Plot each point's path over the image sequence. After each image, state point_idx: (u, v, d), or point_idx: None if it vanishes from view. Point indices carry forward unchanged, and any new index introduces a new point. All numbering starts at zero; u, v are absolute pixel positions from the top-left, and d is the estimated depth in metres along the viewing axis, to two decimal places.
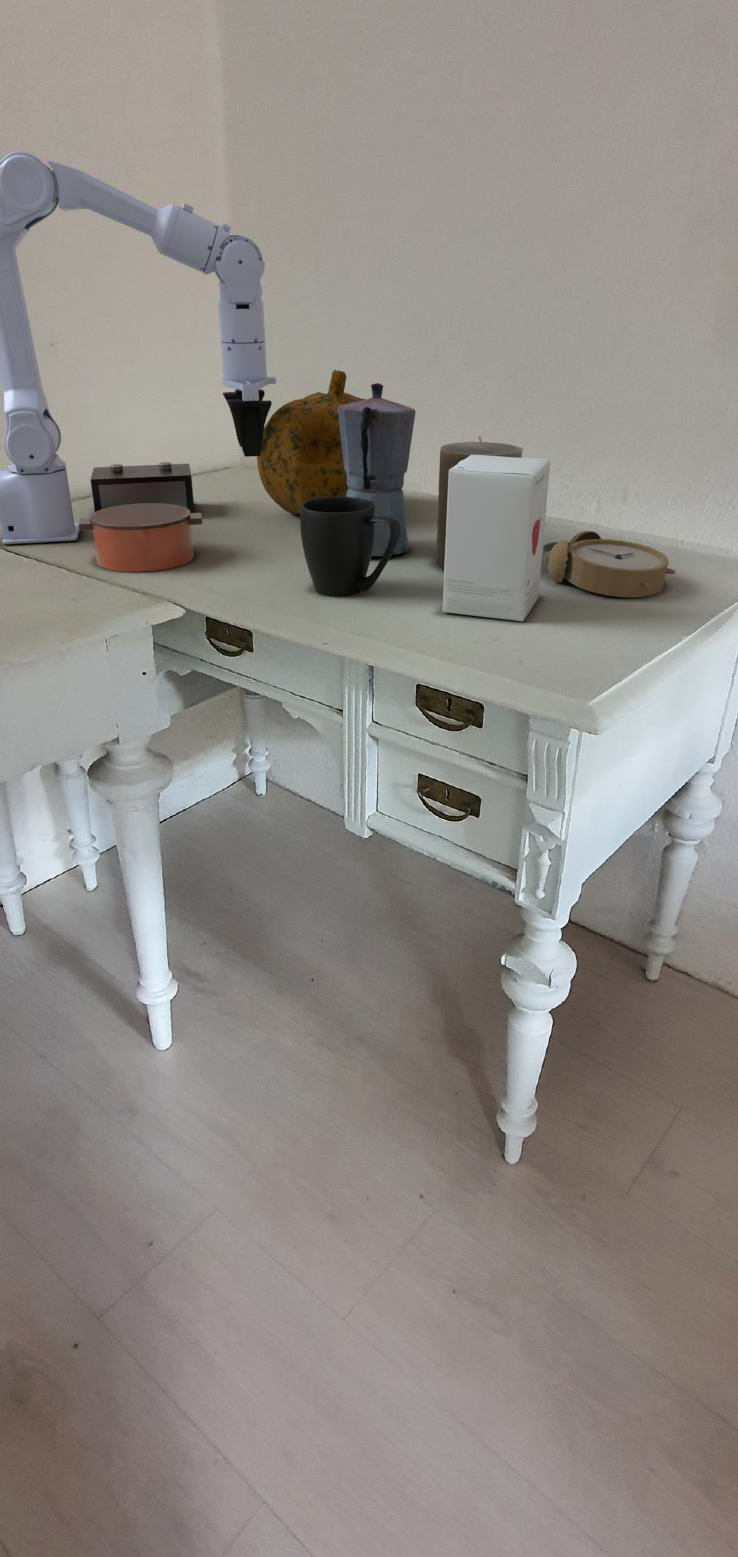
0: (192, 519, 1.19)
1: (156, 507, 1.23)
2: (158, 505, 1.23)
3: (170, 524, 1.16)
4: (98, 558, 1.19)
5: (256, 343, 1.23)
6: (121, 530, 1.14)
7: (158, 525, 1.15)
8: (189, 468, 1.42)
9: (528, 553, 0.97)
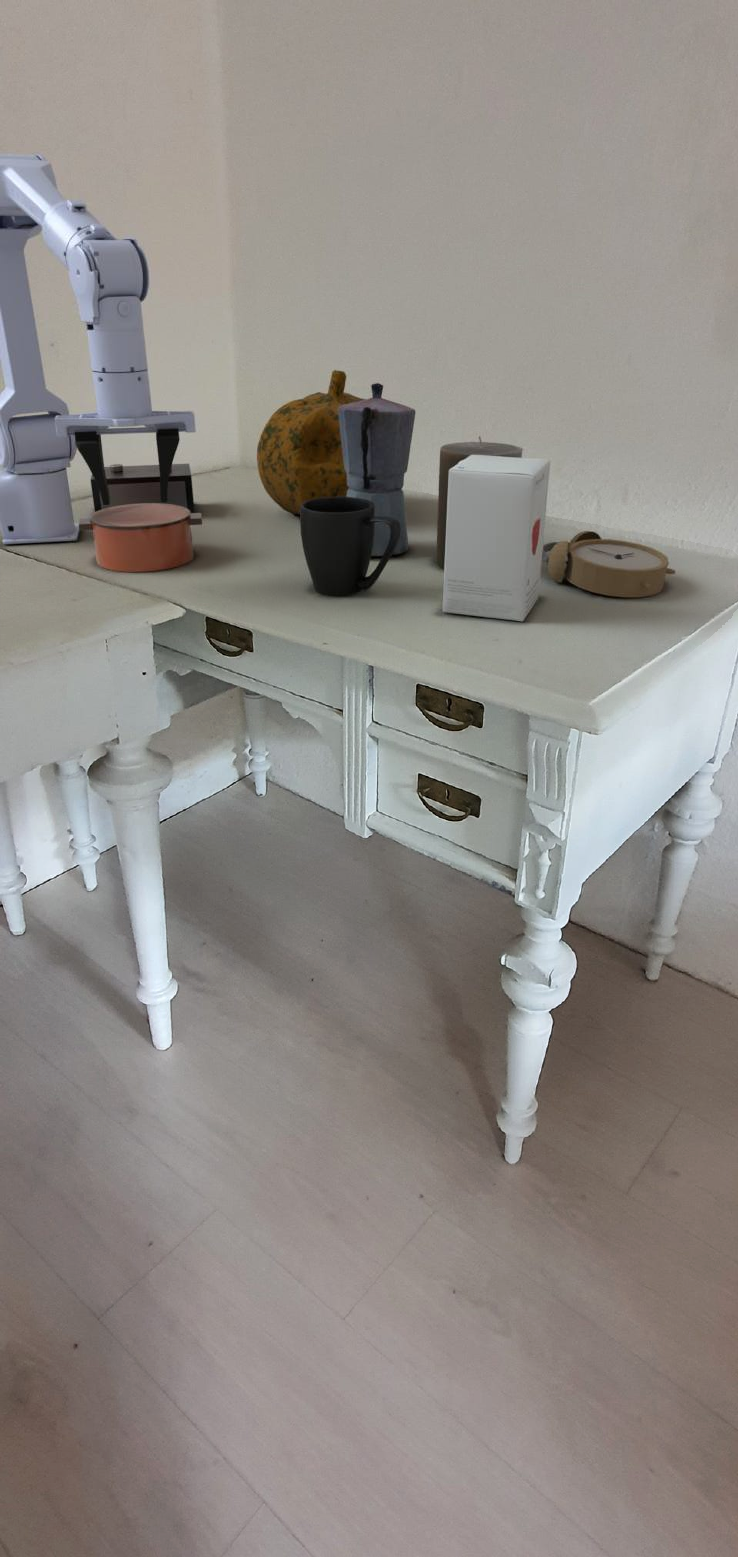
0: (192, 519, 1.19)
1: (156, 507, 1.23)
2: (158, 505, 1.23)
3: (170, 524, 1.16)
4: (98, 558, 1.19)
5: (96, 372, 1.00)
6: (121, 530, 1.14)
7: (158, 525, 1.15)
8: (189, 468, 1.42)
9: (528, 553, 0.97)
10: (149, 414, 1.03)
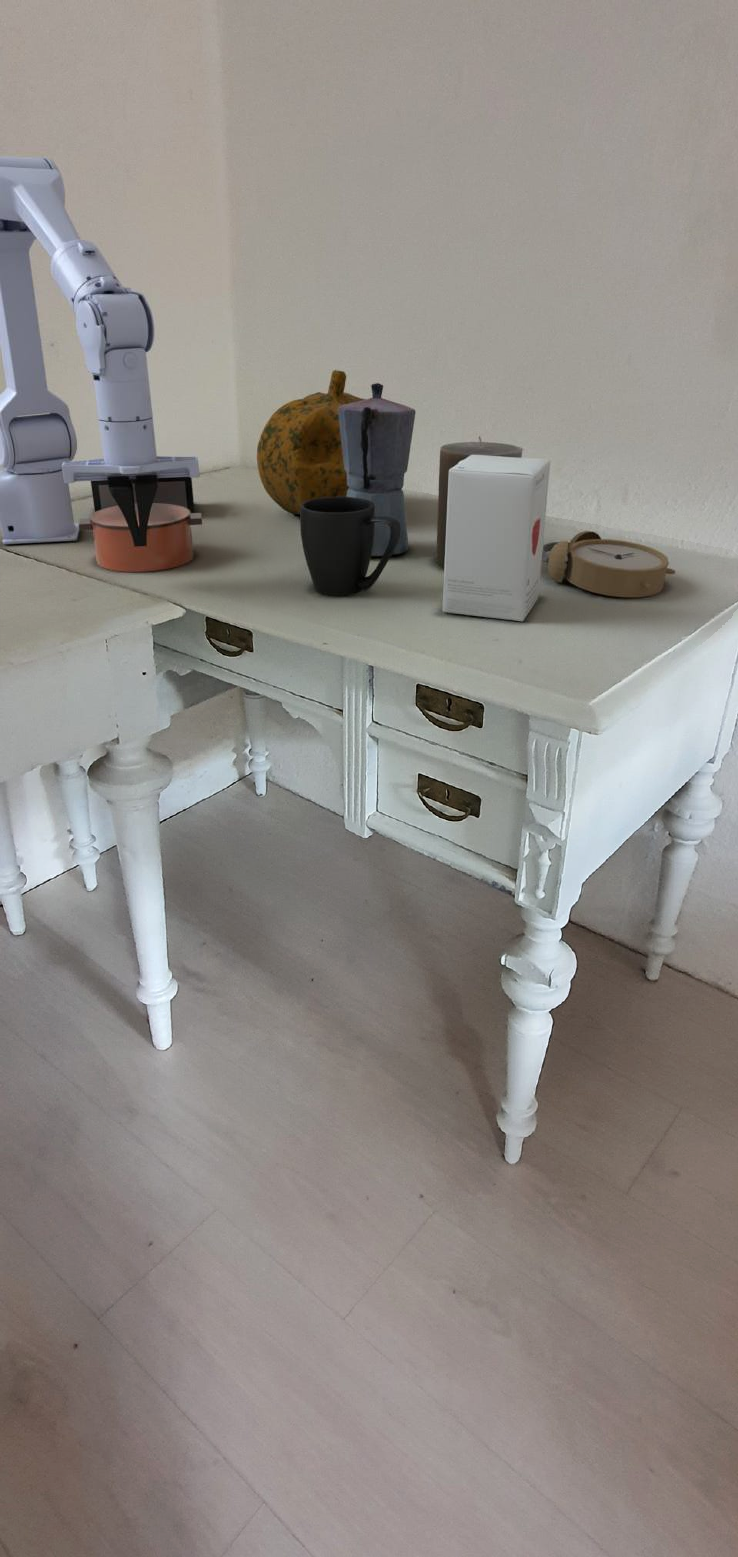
0: (192, 519, 1.19)
1: (156, 507, 1.23)
2: (158, 505, 1.23)
3: (170, 524, 1.16)
4: (98, 558, 1.19)
5: (102, 421, 1.02)
6: (121, 530, 1.14)
7: (158, 525, 1.15)
8: None
9: (528, 553, 0.97)
10: (154, 460, 1.05)
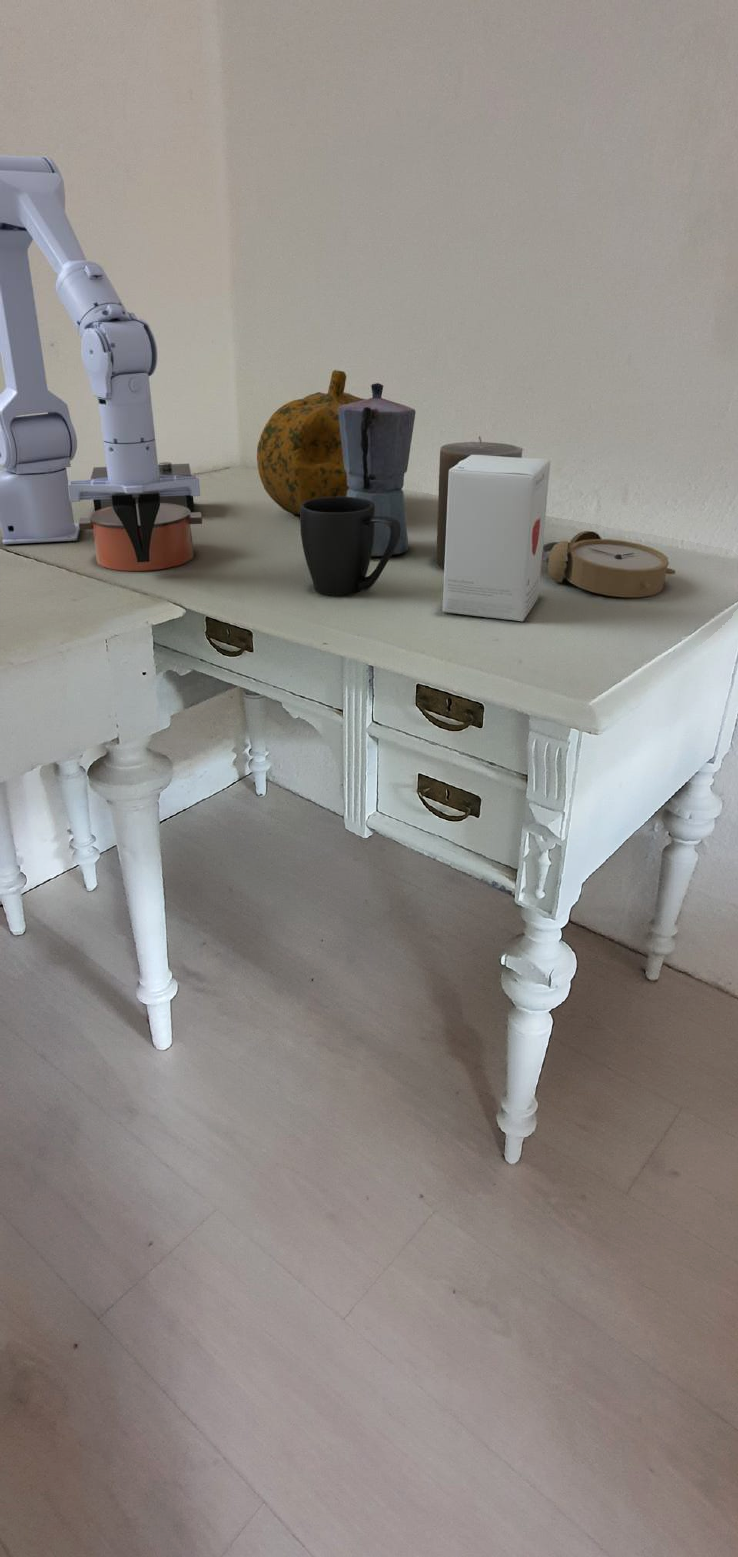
0: (192, 518, 1.20)
1: None
2: None
3: (170, 523, 1.16)
4: (98, 557, 1.19)
5: (106, 443, 1.06)
6: (122, 529, 1.15)
7: (158, 524, 1.15)
8: (189, 468, 1.42)
9: (528, 553, 0.97)
10: (156, 480, 1.09)
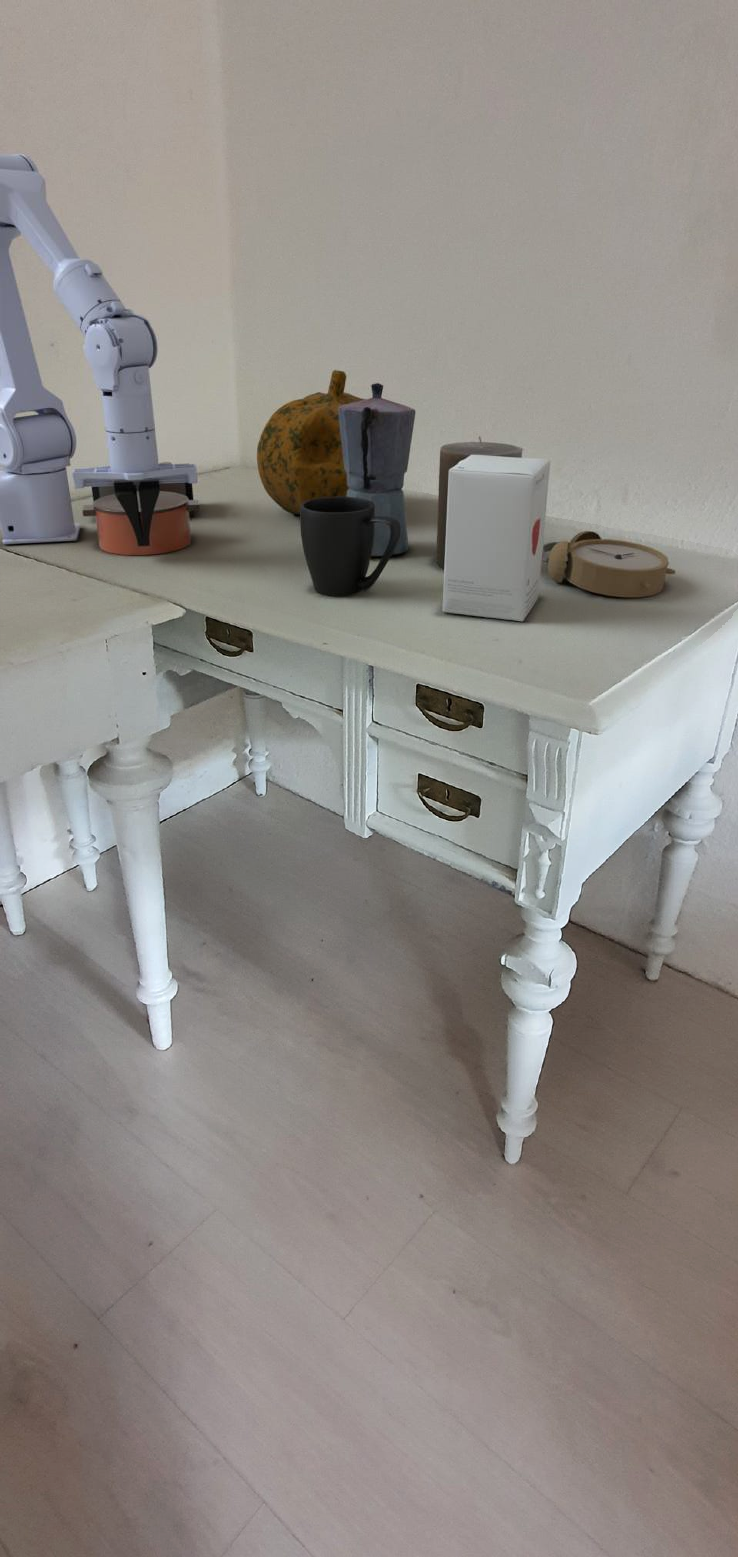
0: (190, 505, 1.26)
1: None
2: None
3: (169, 510, 1.22)
4: (101, 542, 1.25)
5: (109, 432, 1.12)
6: (123, 515, 1.21)
7: (158, 510, 1.21)
8: None
9: (528, 553, 0.97)
10: (156, 468, 1.15)
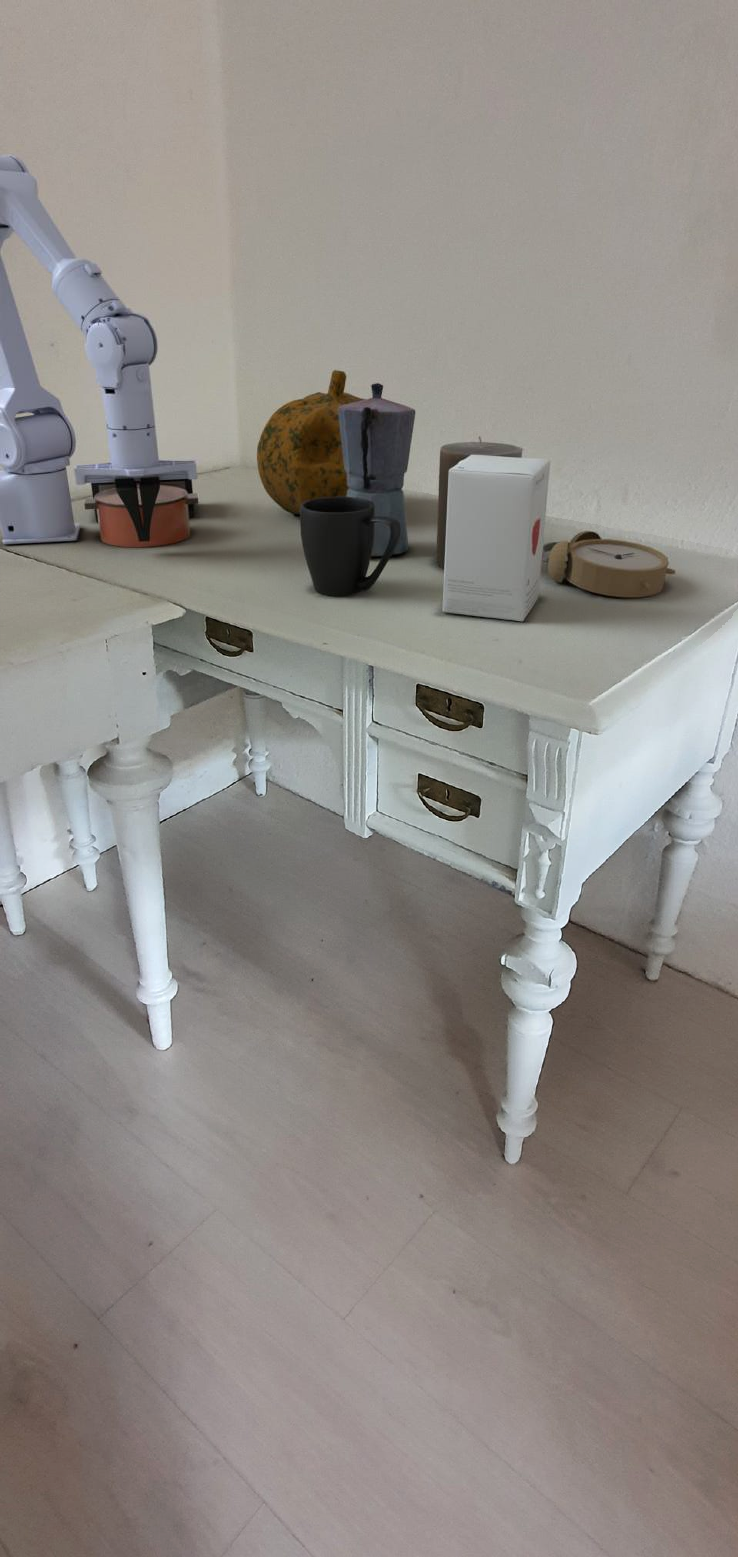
0: (189, 499, 1.29)
1: None
2: None
3: (169, 503, 1.26)
4: (102, 535, 1.28)
5: (110, 429, 1.14)
6: (124, 508, 1.24)
7: (158, 503, 1.25)
8: None
9: (528, 553, 0.97)
10: (156, 464, 1.17)
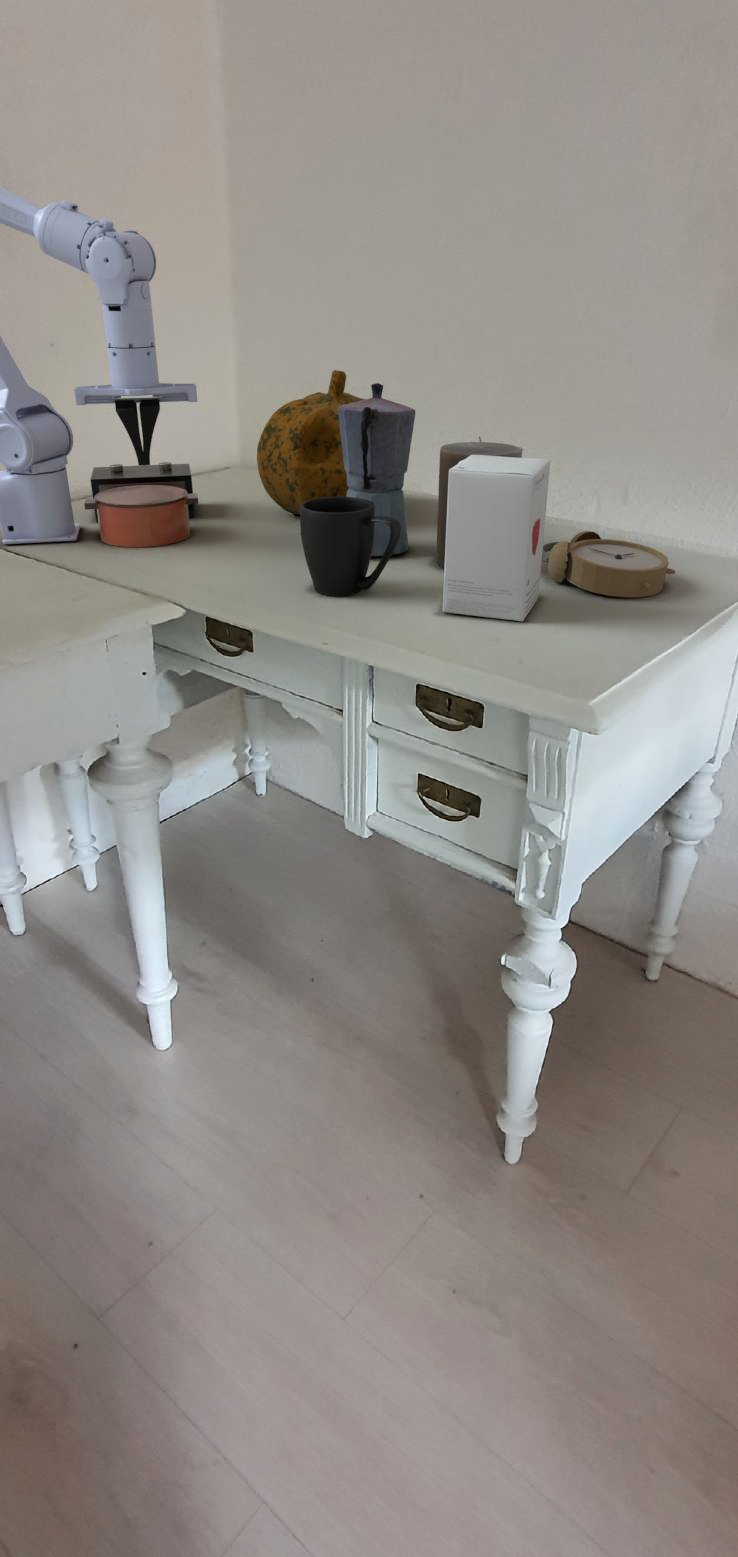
0: (189, 499, 1.29)
1: (155, 488, 1.32)
2: (157, 486, 1.33)
3: (169, 503, 1.26)
4: (102, 535, 1.28)
5: (110, 348, 1.14)
6: (124, 508, 1.24)
7: (158, 503, 1.25)
8: (189, 468, 1.42)
9: (528, 553, 0.97)
10: (156, 385, 1.17)
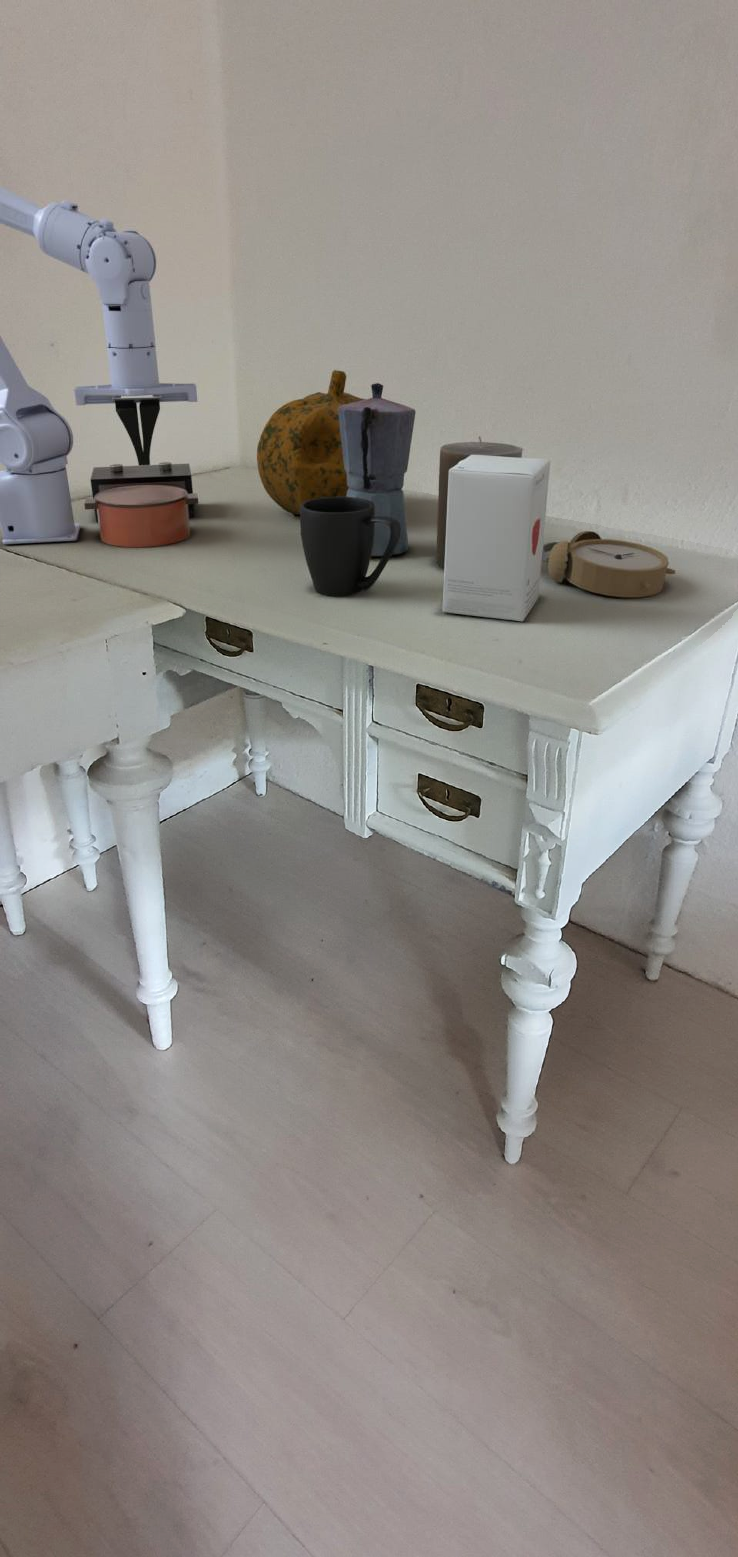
0: (189, 499, 1.29)
1: (155, 488, 1.32)
2: (157, 486, 1.33)
3: (169, 503, 1.26)
4: (102, 535, 1.28)
5: (110, 348, 1.14)
6: (124, 508, 1.24)
7: (158, 503, 1.25)
8: (189, 468, 1.42)
9: (528, 553, 0.97)
10: (157, 385, 1.17)
